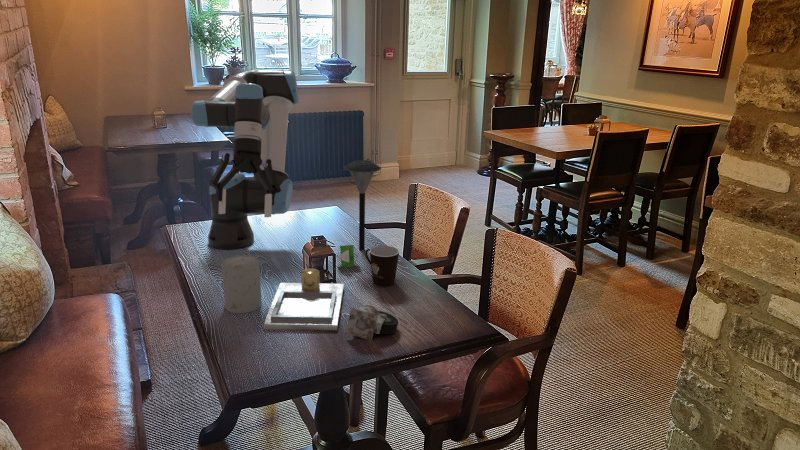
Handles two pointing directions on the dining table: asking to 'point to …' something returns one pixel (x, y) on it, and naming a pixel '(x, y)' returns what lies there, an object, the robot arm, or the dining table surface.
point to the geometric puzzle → (347, 256)
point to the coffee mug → (383, 265)
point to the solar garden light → (362, 190)
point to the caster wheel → (370, 322)
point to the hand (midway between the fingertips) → (245, 215)
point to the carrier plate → (306, 304)
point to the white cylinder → (241, 284)
